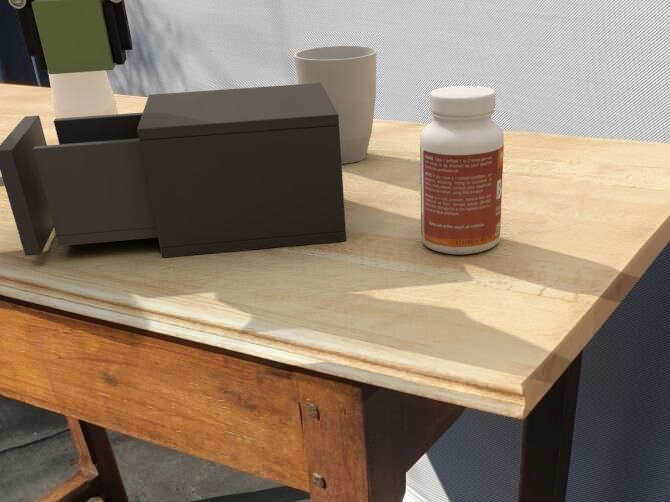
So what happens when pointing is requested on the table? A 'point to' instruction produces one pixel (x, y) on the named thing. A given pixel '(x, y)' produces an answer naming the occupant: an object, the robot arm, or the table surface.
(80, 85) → the water bottle
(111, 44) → the robot arm
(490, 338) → the table surface
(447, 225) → the pill bottle
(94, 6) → the block
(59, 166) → the grey drawer with handle
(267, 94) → the dark grey box
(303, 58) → the cup
